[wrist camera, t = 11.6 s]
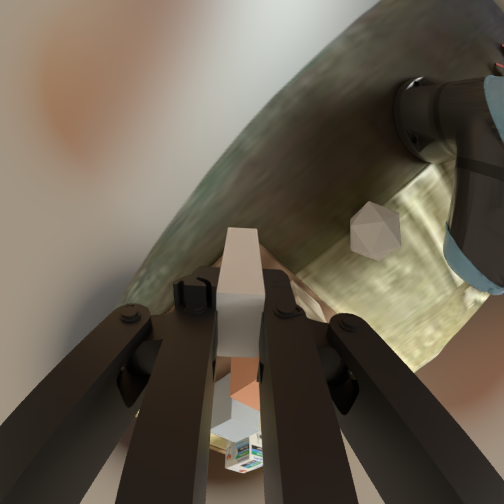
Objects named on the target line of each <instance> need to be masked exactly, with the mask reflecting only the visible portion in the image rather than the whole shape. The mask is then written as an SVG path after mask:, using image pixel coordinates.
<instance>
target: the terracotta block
mask: <svg viewBox="0 0 504 504" xmlns="http://www.w3.org/2000/svg"><path fill="white" fill-rule="evenodd" d="M258 364H259V355H258V358H245V357H231V376H230V397H231V398H233V399H235V400H237V401H239V402H241V403H243V404H245V405H247V406H249V407H251V408H253V409H255V410H257V411H260V397H259V382H256V380H257V372H258Z"/></svg>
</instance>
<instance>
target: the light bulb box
mask: <svg viewBox="0 0 504 504" xmlns="http://www.w3.org/2000/svg"><path fill="white" fill-rule="evenodd" d="M261 466H263V455H262V435H261V431H260V432H258V433H255V434H253V435H251V436H249V437H247V438H245V439H242V440H240V441H238V442H232V441H230V440H227V439H226V460H225V468H227V469H230V470H234V471H237V472H241V473H245V472H247V471H250V470H253V469H256V468H258V467H261Z"/></svg>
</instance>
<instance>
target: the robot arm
mask: <svg viewBox="0 0 504 504" xmlns="http://www.w3.org/2000/svg"><path fill="white" fill-rule="evenodd" d="M393 114H394V121H395V126H396V129H397V132H398V134H399V137H400V139H401V140H402V142H403V144H404V145H405V147H406V148H407V149H408V150H409V151H410V152H411V153H412V154H413V155H414V156H416V157H417V158H419V159H421V160H423V161H426V162H431V163H445V162H449V161H452V160H455V159H456V166H455V174H454V183H453V191H452V198H451V204H450V210H449V215H448V220H447V222H446V225H445V227H446V233H445V239H444V244H443V253H444V257H445V259H446V261H447V263H448V265H449V266H450V268H451V269H452V270H453V271H454V272H455V273H456V274H457V275H458V276H459V277H460V278H461V279H463V280H464V281H465V282H467V283H468V284H469V285H471V286H473V287H474V288H476V289H478V290H480V291H482V292H488V293H490V294H492V295H500V294H502V293H504V77H497V76H493V75H489V76H487V77H480V78H473V79H465V80H459V81H453V82H446V81H443V80H439V79H436V78H432V77H426V76H422V77H417V78H413V79H410V80H408V81H406V82H405V83H403V84H402V85H401V87H400V88H399V90H398V91H397V94H396V96H395V100H394V107H393ZM173 289H174V301H175V308H174V310H173V312H170V313H167V314H161V315H152V316H151V315H150V311H149V309H148V308H147V307H145V306H143V305H139V304H126V305H123V306H120V307H118V308H117V309H115V310H114V311H113V312H112V313H111V314H110V315H109V316H108V317H106V318H105V319H104V320H103V321H102V322H101V323H100V324H99V325H98V326H97V327H96V328H95V329H94V330H93V331H92V332H90V334H88V335H87V336H86V337H85V338H84V339H83V340H82V341H81V342H80V343H79V344H78V345H77V346H76V347H75V348H74V349H73V350H72V351H71V352H70V353H69V354H68V355H67V356H66V357H65V358H64V359H63V360H62V361H61V362H60V363H59V364H58V365H57V366H56V367H55V368H54V369H53V370H52V371H51V372H50V373H49V374H48V375H47V376H46V377H45V378H44V379H43V380H42V381H41V382H40V383H39V384H38V385H37V386H36V387H35V388H34V389H33V390H32V391H31V393H30V394H29V395H28V396H27V397H26V398H25V399H24V400H23V401H22V402H21V403H20V404H19V406H18V407H17V408H16V409H15V410H14V411H13V412H12V413H11V414H10V416H9V417H8V418H7V419H6V420H5V421H4V422H3V423H2V425H1V426H0V504H80V502H81V500H82V499H83V497H84V495H85V494H86V492H87V491H88V489H89V488H90V486H91V484H92V483H93V481H94V480H95V478H96V476H97V475H98V473H99V472H100V470H101V469H102V467H103V465H104V464H105V462H106V461H107V459H108V458H109V456H110V454H111V453H112V451H113V450H114V448H115V447H116V445H117V444H118V442H119V440H120V438H121V437H122V436H123V434H124V433H125V431H126V429H127V428H128V426H129V425H130V423H131V422H132V420H133V419H134V417H135V415H136V414H137V412H138V411H139V414H138V417H137V421H136V424H135V427H134V431H133V435H132V438H131V441H130V445H129V449H128V452H127V456H126V460H125V464H124V468H123V471H122V475H121V480H120V484H119V488H118V492H117V497H116V501H115V504H205V501H206V485H207V470H208V456H209V444H210V432H211V420H212V409H213V398H214V387H215V377H216V367H217V365H216V355H217V356H225V357H245V358H258V355H259V364H258V372H257V380H256V382H259V397H260V416H261V435H262V455H263V472H264V473H263V474H264V493H265V504H358V499H357V495H356V491H355V486H354V483H353V478H352V474H351V470H350V466H349V462H348V458H347V454H346V450H345V446H344V443H343V439H342V435H341V431H340V429H341V430H342V433H343V434H344V436H345V437H346V439H347V441H348V443H349V444H350V446H351V448H352V449H353V451H354V453H355V454H356V456H357V458H358V459H359V461H360V463H361V464H362V466H363V468H364V469H365V471H366V473H367V474H368V476H369V478H370V479H371V481H372V483H373V484H374V486H375V488H376V489H377V491H378V493H379V494H380V496H381V498H382V499H383V501H384V502H385V504H504V480H503V479H502V478H501V476H500V475H499V474H498V473H497V471H496V470H495V469H494V467H493V466H492V465H491V463H490V462H489V461H488V460H487V458H486V457H485V456H484V455H483V453H482V452H481V451H480V450H479V449H478V447H477V446H476V445H475V444H474V442H473V441H472V440H471V439H470V437H469V436H468V435H467V434H466V433H465V431H464V430H463V429H462V428H461V427H460V425H459V424H458V423H457V422H456V421H455V420H454V418H453V417H452V416H451V415H450V414H449V412H448V411H447V410H446V409H445V408H444V407H443V406H442V405H441V403H440V402H439V401H438V400H437V399H436V398H435V397H434V395H433V394H432V393H431V392H430V391H429V390H428V388H427V387H426V386H425V385H424V384H423V383H422V382H421V381H420V380H419V378H418V377H417V376H416V375H415V374H414V373H413V372H412V371H411V370H410V368H409V367H408V366H407V365H406V364H405V363H404V362H403V361H402V360H401V359H400V358H399V356H398V355H397V354H396V353H395V352H394V351H393V350H392V349H391V348H390V347H389V346H388V345H387V344H386V342H385V341H384V340H383V339H382V338H381V337H380V336H379V335H378V334H377V333H376V332H375V331H374V330H373V329H372V328H371V327H370V325H369V324H368V323H367V322H366V321H364V320H363V319H362V318H361V317H358V316H356V315H354V314H349V313H339V314H336V315H333V316H332V317H331V318H330V321H329V323H325V322H320V321H316V320H313V319H310V318H308V317H307V316H306V312H305V311H304V309H303V308H302V307H300V306H299V305H298V304H296V300H295V297H294V293H293V290H292V288H291V283H290V280H289V277H288V275H287V274H286V273H285V272H284V271H283V270H279V269H262V265H261V257H260V249H259V242H258V234H257V229H249V228H230V227H228V232H227V237H226V242H225V248H224V253H223V259H222V264H221V267H205V266H200V267H199V268H197V269H196V270H195V271H194V272H193V275H190V276H185V277H182V278H180V279H178V280H176V281H175V282H174V283H173ZM139 409H140V410H139ZM339 427H340V428H339Z"/></svg>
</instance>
